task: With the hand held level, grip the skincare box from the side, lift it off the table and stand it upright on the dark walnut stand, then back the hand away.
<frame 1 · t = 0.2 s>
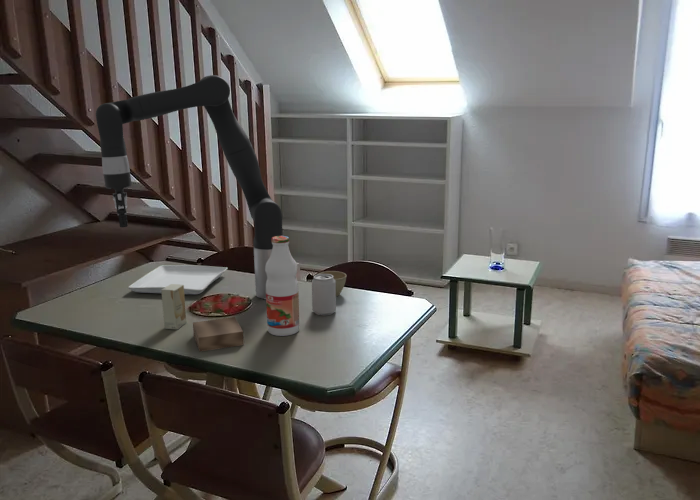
hand: (123, 224, 187), 29 cm above the table, tool pointing down, fingers open, 8 cm apart
skincare box: (175, 326, 183), on the table
can: (324, 312, 194), on the table
walnut stand: (218, 340, 172), on the table
beige bowl: (332, 295, 210), on the table
square plate: (180, 286, 223), on the table
fruit juice: (283, 331, 179), on the table
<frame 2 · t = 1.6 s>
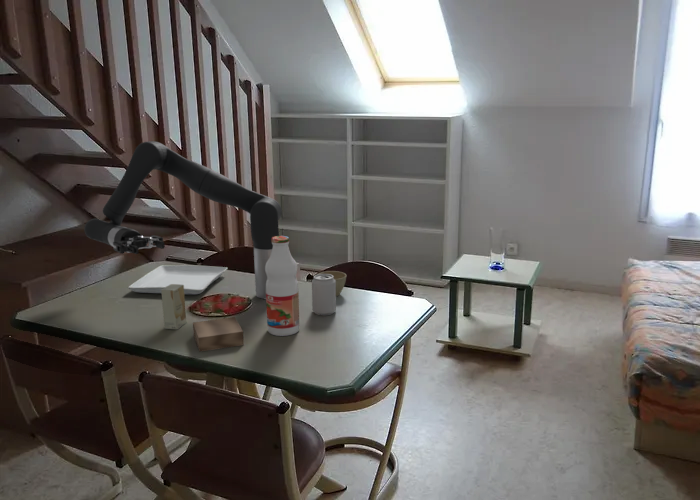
hand: (150, 248, 185), 22 cm above the table, tool horizontal, fingers open, 8 cm apart
nothing on the table moved.
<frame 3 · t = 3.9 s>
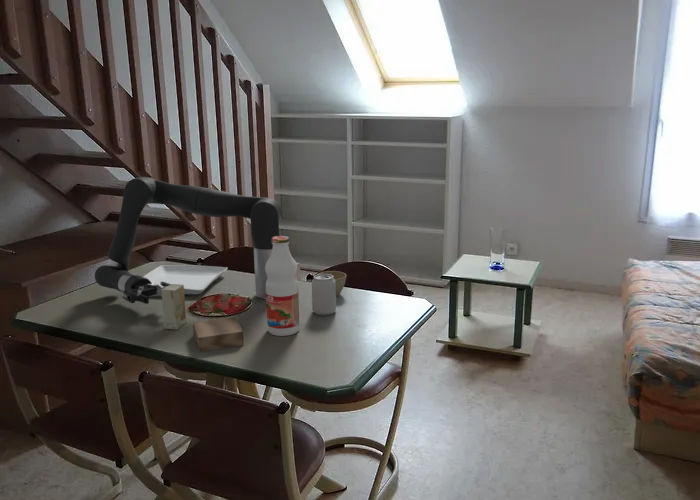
hand: (160, 297, 187), 7 cm above the table, tool horizontal, fingers open, 8 cm apart
nothing on the table moved.
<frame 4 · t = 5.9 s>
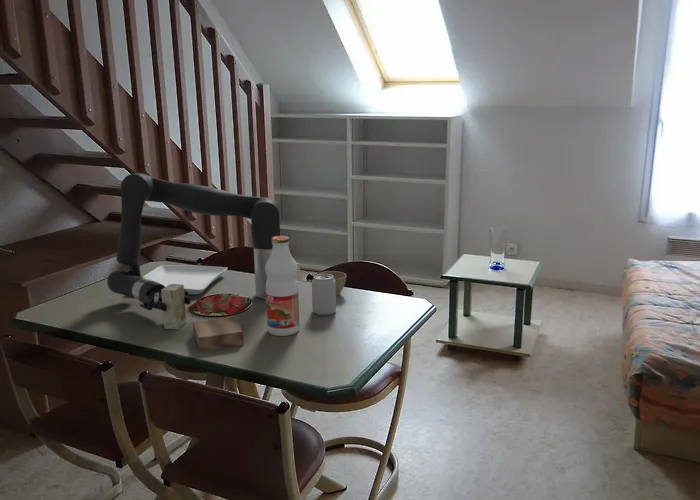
hand: (177, 304, 180), 7 cm above the table, tool horizontal, fingers closed on skincare box, 7 cm apart
skincare box: (175, 326, 183), on the table, touching gripper
everything else where it was.
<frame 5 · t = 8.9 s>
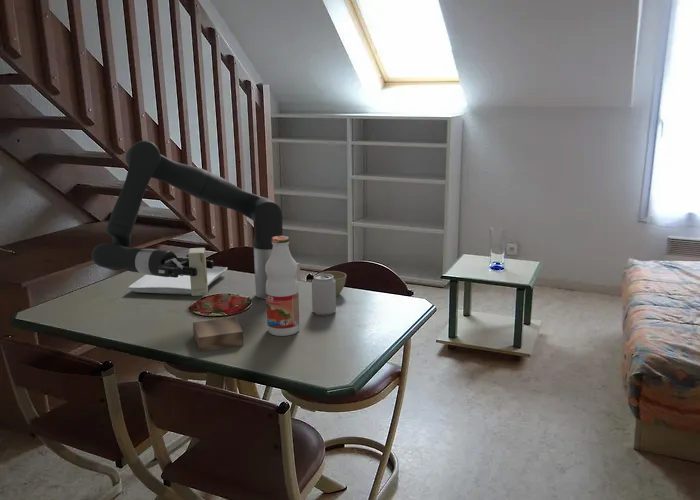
hand: (204, 268, 168), 21 cm above the table, tool horizontal, fingers closed on skincare box, 7 cm apart
skincare box: (199, 293, 171), point 13 cm above the table, touching gripper
everything else where it was.
when the fingers open (12 cm above the table, at t = 11.7 s): skincare box drops 1 cm, resting on walnut stand.
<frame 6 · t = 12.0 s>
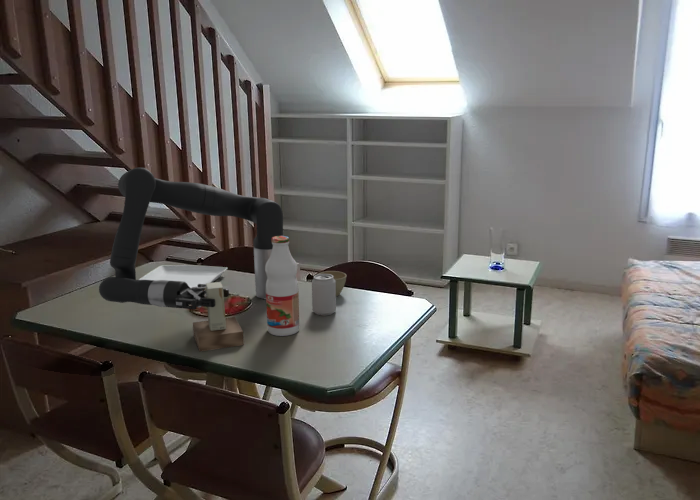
hand: (221, 297, 169), 13 cm above the table, tool horizontal, fingers open, 8 cm apart
skincare box: (217, 327, 172), point 4 cm above the table, touching walnut stand
everything else where it was.
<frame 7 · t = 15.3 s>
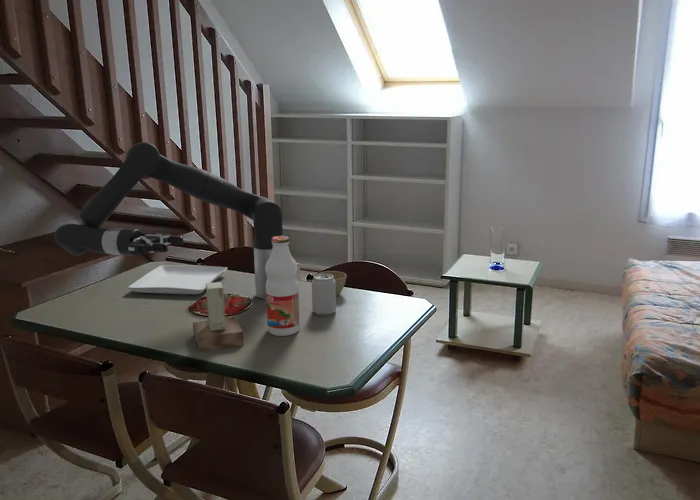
hand: (175, 244, 170), 27 cm above the table, tool horizontal, fingers open, 8 cm apart
nothing on the table moved.
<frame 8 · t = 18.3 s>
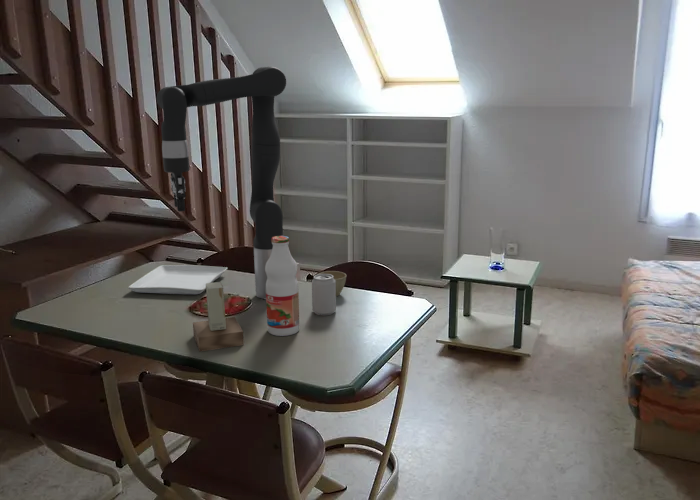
hand: (179, 208, 188), 33 cm above the table, tool pointing down, fingers open, 8 cm apart
nothing on the table moved.
at the end: skincare box inside the target area on the walnut stand (0.2 cm from its centre), point 3.8 cm above the walnut stand's base; skincare box tilted 0°; the gripper is holding nothing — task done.
